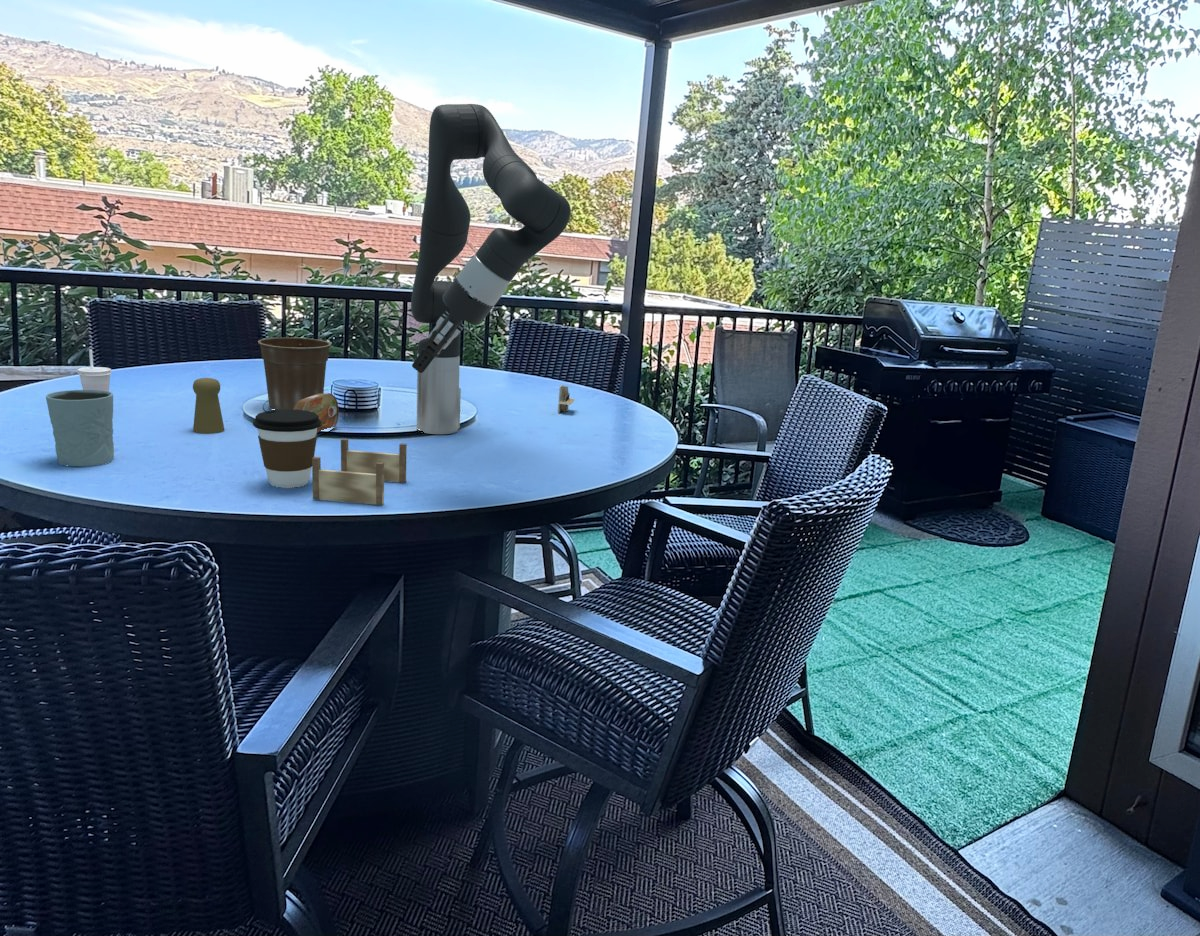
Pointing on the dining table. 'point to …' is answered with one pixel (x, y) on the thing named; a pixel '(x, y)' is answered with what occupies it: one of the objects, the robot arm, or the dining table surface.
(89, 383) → the smoothie
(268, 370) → the plant pot
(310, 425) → the coffee cup
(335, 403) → the tin
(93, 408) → the green embossed planter
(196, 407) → the cork
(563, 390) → the architectural model
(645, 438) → the dining table surface
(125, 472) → the dining table surface
